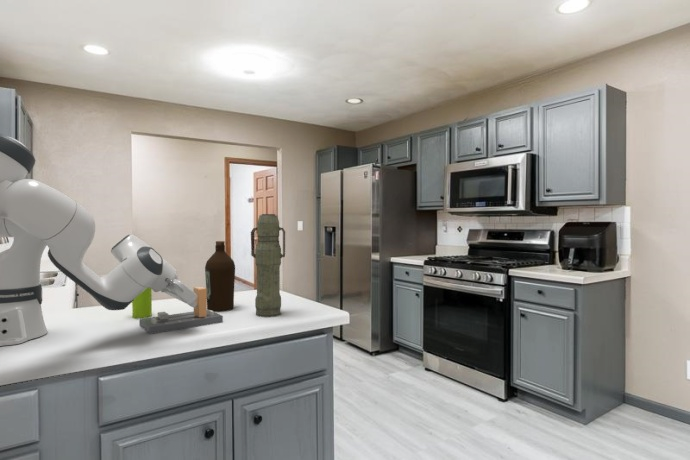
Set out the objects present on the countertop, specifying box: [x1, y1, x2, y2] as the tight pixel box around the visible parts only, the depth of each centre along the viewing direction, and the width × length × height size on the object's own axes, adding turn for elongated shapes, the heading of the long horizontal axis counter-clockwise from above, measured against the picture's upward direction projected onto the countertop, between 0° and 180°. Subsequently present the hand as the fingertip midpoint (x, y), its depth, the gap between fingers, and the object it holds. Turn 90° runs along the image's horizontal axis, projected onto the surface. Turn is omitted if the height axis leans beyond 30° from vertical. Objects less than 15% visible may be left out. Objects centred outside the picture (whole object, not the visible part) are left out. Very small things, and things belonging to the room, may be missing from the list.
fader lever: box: [193, 286, 207, 317], centre depth 133 cm, size 2×5×9 cm, turn 39°
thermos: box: [250, 213, 286, 318], centre depth 145 cm, size 9×12×35 cm
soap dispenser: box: [131, 287, 153, 319], centre depth 141 cm, size 6×7×20 cm
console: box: [138, 309, 224, 335], centre depth 132 cm, size 22×12×4 cm, turn 129°
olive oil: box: [204, 240, 236, 313], centre depth 153 cm, size 11×11×25 cm
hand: (194, 305), depth 132 cm, fingers closed
